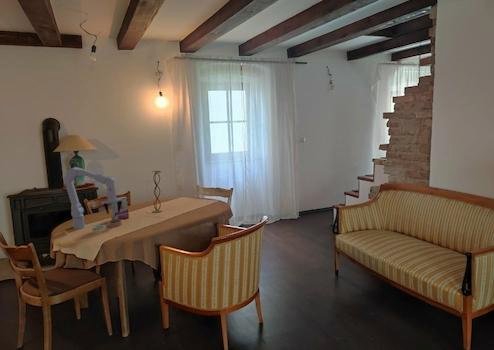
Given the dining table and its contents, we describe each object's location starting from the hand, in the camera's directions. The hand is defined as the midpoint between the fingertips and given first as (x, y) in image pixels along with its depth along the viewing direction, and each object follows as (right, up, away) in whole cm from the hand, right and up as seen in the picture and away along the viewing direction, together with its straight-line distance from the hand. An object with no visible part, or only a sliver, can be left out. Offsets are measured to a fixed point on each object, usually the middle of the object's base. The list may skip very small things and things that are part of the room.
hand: (113, 212), depth 265 cm
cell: (+1, -9, +1) cm, 9 cm away
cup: (+1, -10, +1) cm, 10 cm away
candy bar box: (-2, -7, +20) cm, 22 cm away
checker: (-8, -11, -5) cm, 15 cm away
